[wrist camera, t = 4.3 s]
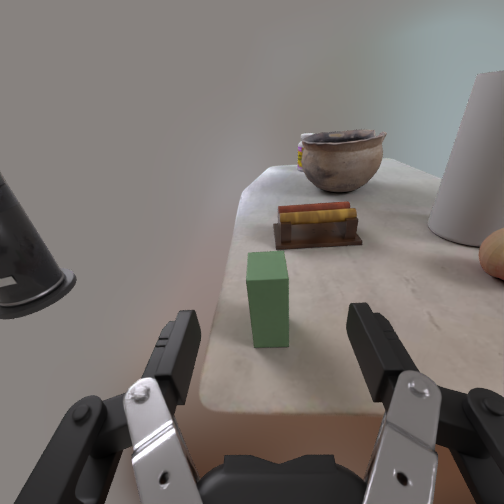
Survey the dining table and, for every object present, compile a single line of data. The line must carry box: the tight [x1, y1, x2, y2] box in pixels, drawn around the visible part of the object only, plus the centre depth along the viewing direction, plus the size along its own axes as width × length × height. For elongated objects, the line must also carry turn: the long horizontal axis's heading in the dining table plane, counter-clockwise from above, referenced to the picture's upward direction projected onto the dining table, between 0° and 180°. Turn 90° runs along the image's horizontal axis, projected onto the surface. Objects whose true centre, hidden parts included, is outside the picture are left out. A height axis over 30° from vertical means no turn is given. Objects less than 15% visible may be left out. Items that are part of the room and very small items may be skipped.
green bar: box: [246, 251, 289, 348], centre depth 27 cm, size 4×5×10 cm
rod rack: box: [273, 201, 362, 250], centre depth 48 cm, size 16×10×6 cm, turn 88°
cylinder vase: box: [428, 71, 504, 247], centre depth 39 cm, size 12×12×25 cm
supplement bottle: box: [298, 133, 313, 171], centre depth 92 cm, size 7×7×13 cm
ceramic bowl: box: [301, 130, 387, 192], centre depth 69 cm, size 22×22×15 cm
